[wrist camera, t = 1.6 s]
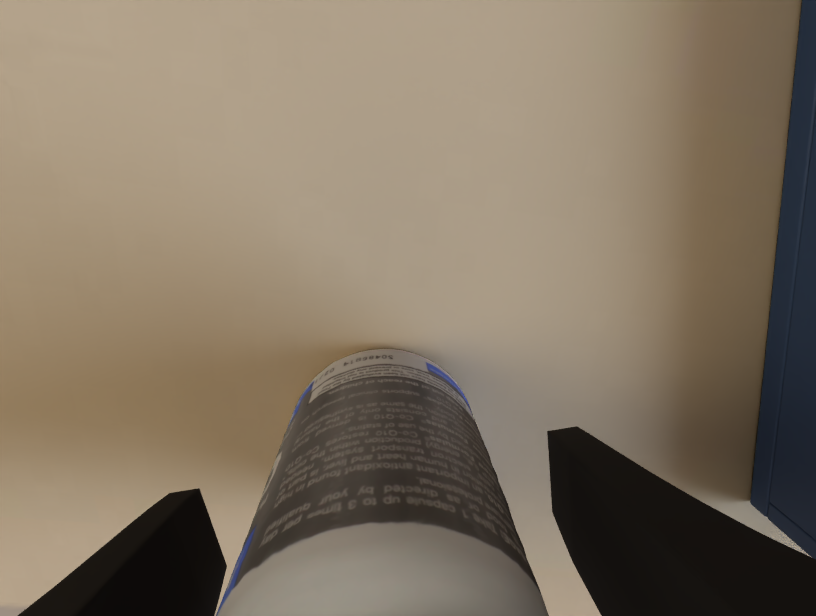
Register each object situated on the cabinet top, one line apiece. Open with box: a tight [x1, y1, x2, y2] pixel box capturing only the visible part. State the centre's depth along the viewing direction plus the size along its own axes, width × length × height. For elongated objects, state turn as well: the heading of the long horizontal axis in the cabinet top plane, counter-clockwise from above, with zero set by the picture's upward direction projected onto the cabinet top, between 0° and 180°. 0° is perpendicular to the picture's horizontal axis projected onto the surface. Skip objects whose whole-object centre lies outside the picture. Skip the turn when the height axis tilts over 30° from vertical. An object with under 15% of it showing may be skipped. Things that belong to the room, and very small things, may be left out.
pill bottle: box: [216, 349, 549, 616], centre depth 7 cm, size 5×5×8 cm
